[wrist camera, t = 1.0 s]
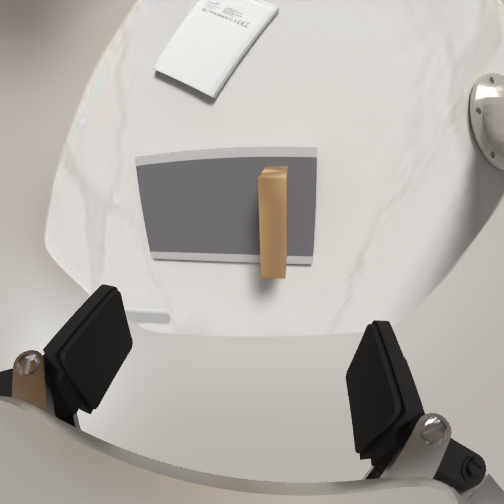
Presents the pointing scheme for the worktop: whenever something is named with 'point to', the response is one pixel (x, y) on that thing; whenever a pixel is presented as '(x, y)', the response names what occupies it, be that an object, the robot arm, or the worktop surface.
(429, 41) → the worktop surface
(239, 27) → the external hard drive
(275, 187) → the wooden block
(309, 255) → the mat
